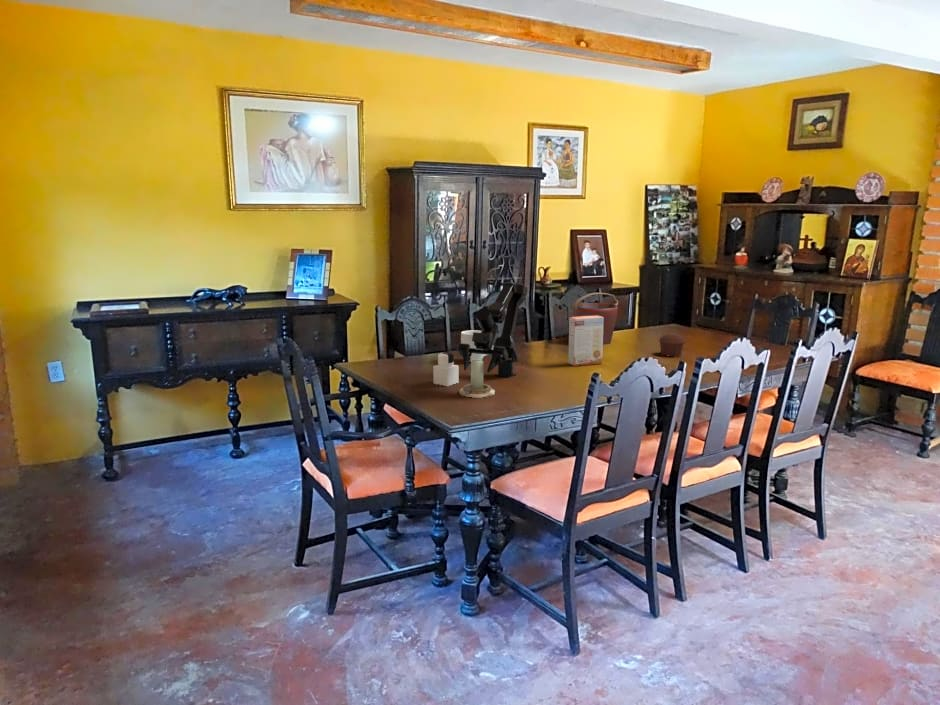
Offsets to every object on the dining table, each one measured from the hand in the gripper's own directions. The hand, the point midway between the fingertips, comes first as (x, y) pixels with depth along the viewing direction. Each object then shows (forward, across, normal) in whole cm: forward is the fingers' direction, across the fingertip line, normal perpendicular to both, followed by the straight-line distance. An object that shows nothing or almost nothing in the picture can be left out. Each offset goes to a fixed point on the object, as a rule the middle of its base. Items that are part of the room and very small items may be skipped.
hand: (476, 371), depth 249 cm
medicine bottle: (0, -16, +13) cm, 21 cm away
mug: (-29, -21, +41) cm, 54 cm away
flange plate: (+6, 0, +7) cm, 9 cm away
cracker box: (-39, +25, +51) cm, 69 cm away
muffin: (-63, +57, +76) cm, 114 cm away
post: (+5, 0, +6) cm, 8 cm away
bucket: (-74, +18, +86) cm, 115 cm away
